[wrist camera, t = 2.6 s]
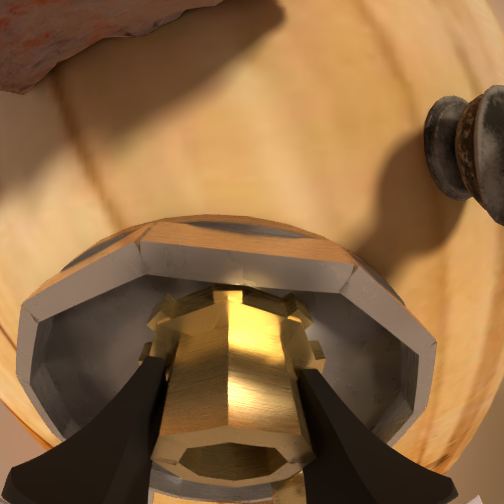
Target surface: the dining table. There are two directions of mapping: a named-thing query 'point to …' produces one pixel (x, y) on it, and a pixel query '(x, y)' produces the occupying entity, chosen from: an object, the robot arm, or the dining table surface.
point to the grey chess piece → (469, 149)
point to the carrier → (202, 276)
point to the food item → (71, 31)
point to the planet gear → (232, 385)
